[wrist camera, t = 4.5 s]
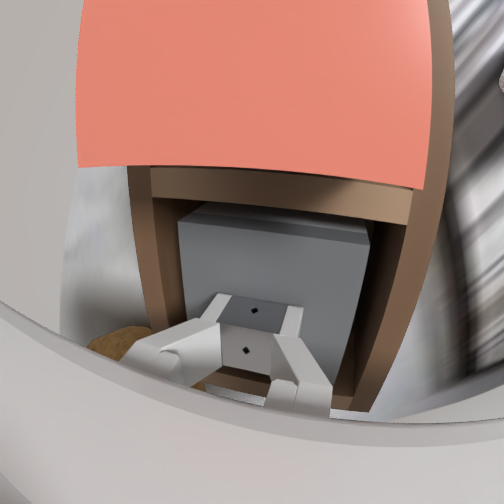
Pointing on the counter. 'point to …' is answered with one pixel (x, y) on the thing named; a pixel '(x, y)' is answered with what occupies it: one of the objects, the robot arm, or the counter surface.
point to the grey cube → (279, 267)
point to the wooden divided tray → (323, 201)
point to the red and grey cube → (257, 86)
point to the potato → (125, 345)
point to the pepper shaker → (502, 81)
